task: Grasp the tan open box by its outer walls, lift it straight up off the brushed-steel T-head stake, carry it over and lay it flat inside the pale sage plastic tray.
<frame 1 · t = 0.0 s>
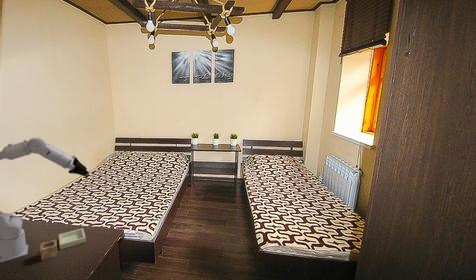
hand: (86, 172, 112), 32 cm above the table, tool tilted 50°, fingers open, 7 cm apart
tray: (72, 240, 111), on the table
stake: (49, 255, 100), on the table
tan open box: (49, 255, 100), on the table
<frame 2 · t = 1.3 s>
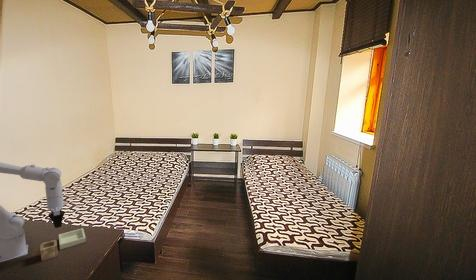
hand: (57, 223, 106), 10 cm above the table, tool pointing down, fingers open, 7 cm apart
nothing on the table moved.
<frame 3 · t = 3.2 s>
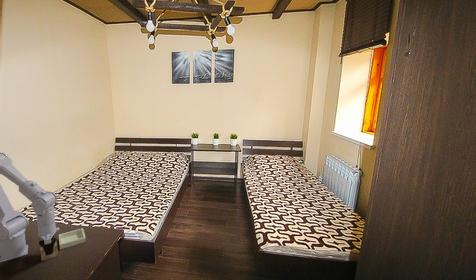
hand: (49, 250, 100), 2 cm above the table, tool pointing down, fingers closed on tan open box, 5 cm apart
tan open box: (49, 255, 100), on the table, touching gripper
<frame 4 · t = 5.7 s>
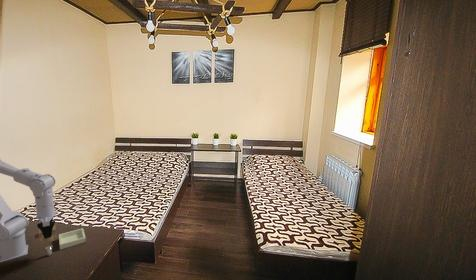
hand: (47, 234, 99), 10 cm above the table, tool pointing down, fingers closed on tan open box, 5 cm apart
tan open box: (48, 238, 99), point 8 cm above the table, touching gripper
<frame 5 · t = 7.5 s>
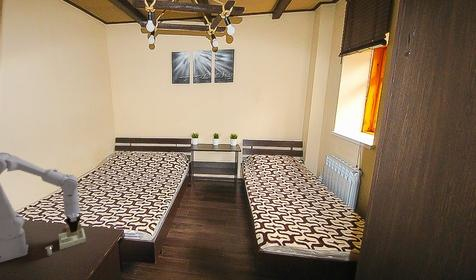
hand: (73, 228, 110), 6 cm above the table, tool pointing down, fingers closed on tan open box, 5 cm apart
tan open box: (73, 232, 110), point 4 cm above the table, touching gripper
when the fingers open (4 cm above the table, at t = 8.6 s): tan open box stays where it is, resting on tray.
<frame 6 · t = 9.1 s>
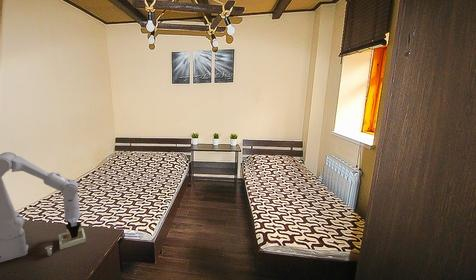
hand: (73, 233, 110), 4 cm above the table, tool pointing down, fingers open, 7 cm apart
tan open box: (74, 239, 111), resting on tray
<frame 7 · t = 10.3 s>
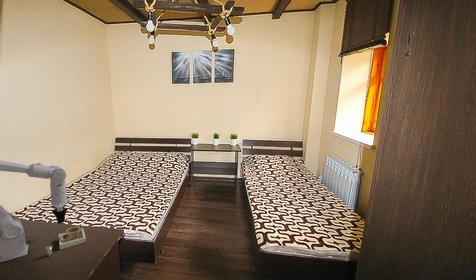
hand: (60, 219, 111), 10 cm above the table, tool pointing down, fingers open, 7 cm apart
nothing on the table moved.
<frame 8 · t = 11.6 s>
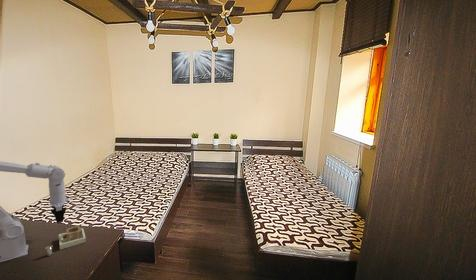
hand: (59, 218, 111), 10 cm above the table, tool pointing down, fingers open, 7 cm apart
nothing on the table moved.
at the end: tan open box 0.4 cm off-centre on the tray, point 0.5 cm above the tray's base; tan open box tilted 0°; the gripper is holding nothing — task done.
